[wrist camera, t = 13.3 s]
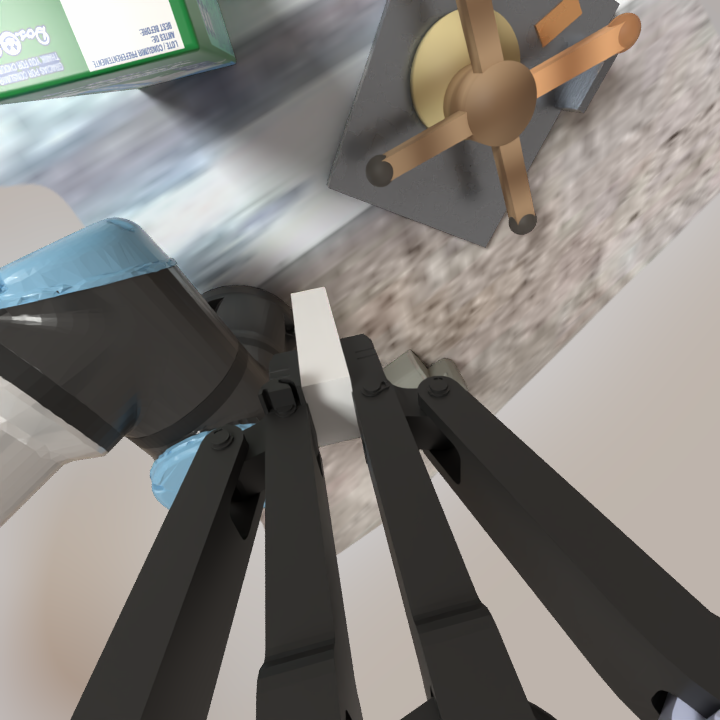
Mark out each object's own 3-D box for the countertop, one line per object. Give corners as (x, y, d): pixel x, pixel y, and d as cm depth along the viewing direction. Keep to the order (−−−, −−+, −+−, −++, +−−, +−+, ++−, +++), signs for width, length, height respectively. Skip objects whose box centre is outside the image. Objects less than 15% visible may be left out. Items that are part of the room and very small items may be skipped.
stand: (485, 245, 50) (506, 261, 46) (326, 184, 43) (333, 197, 39) (614, 10, 39) (659, 2, 35) (428, -128, 32) (455, -160, 27)
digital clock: (364, 423, 64) (379, 477, 55) (337, 385, 59) (349, 438, 50) (458, 376, 62) (489, 424, 53) (439, 332, 57) (470, 378, 48)
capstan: (600, 160, 45) (651, 173, 39) (400, 267, 48) (420, 295, 42) (571, -158, 31) (645, -214, 25) (289, 21, 34) (294, 9, 28)
